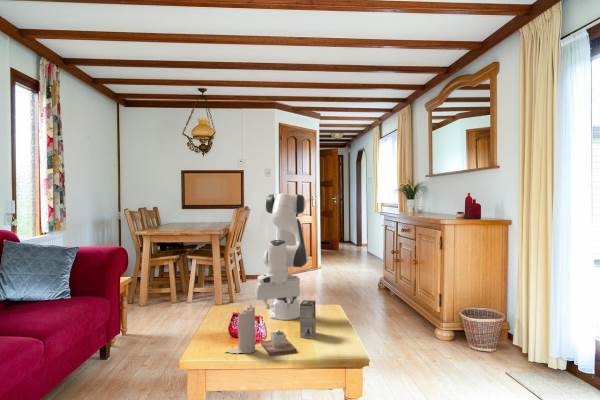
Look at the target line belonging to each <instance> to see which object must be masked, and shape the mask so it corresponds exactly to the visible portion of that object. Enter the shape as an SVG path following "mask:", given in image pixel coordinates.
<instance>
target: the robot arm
mask: <svg viewBox="0 0 600 400" xmlns="http://www.w3.org/2000/svg"><path fill="white" fill-rule="evenodd" d="M306 203H307V202H306V198H305V196H304V195H302V194H298V193H297V194H295V193H286V192H282V193H278V194H274V193H273V194H268V195H267V196H266V197H265V201H264V207H265V211H266V212H267V213H268V214H271V218H272V223H273V224H274V226H276V227H275V228H276V234H275V235H276V239H274V240H271V241H270V242H269V243H268V249H267V250H265V251H264V253H263V256H262V260H263V263H264V265H265V266H266V267H267V272H266V273H263V274H260V275H258V276H257V279H256V280H257V282H256V284H255V287H254V288H255V289H254V291H255V292H254V297H255V298H256V300H258V301H263V303H264V305H265V309H266V310H268V315H269V318H270V319H271V320H273V319H274V320H282V321H283V320H284V321H289V320H290V321H291V320H296V319H298V318H300V301H299V300H298V299H297V298H298V297H299V296H300V295H301V288H300V287H301V286H300V283H301V279H300V277H299V276H297V275H293V274H292V273H290V272H288V268H303V267H304V266H306V265H307V264H308V262H309V258H310V257H309V253H308V251H307V249H306V246H305V245H306V244H305V240H304V239H305V238H304V233H303V229H302V224H301V221H300V219H298V218H297V217H296V215H297V216H298V215H300V214H302V213H304V212H305V209H306V207H307V204H306ZM273 299H274V300H273ZM268 300H273V302H272V304H268V303H267V302H268Z"/></svg>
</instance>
